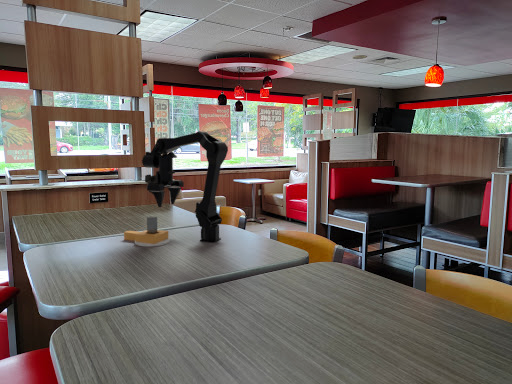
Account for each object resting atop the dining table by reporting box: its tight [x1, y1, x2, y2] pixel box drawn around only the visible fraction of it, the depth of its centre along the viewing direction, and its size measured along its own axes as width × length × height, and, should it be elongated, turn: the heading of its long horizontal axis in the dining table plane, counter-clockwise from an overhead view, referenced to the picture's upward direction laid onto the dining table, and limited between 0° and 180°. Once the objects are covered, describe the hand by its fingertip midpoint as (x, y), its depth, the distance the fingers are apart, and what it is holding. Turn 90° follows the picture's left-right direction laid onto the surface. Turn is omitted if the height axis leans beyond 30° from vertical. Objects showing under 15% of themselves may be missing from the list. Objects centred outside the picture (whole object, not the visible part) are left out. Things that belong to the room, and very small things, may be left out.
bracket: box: [123, 229, 170, 248], centre depth 146 cm, size 19×13×4 cm
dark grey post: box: [146, 216, 158, 234], centre depth 144 cm, size 3×2×9 cm
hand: (166, 205), depth 157 cm, fingers open, 9 cm apart
